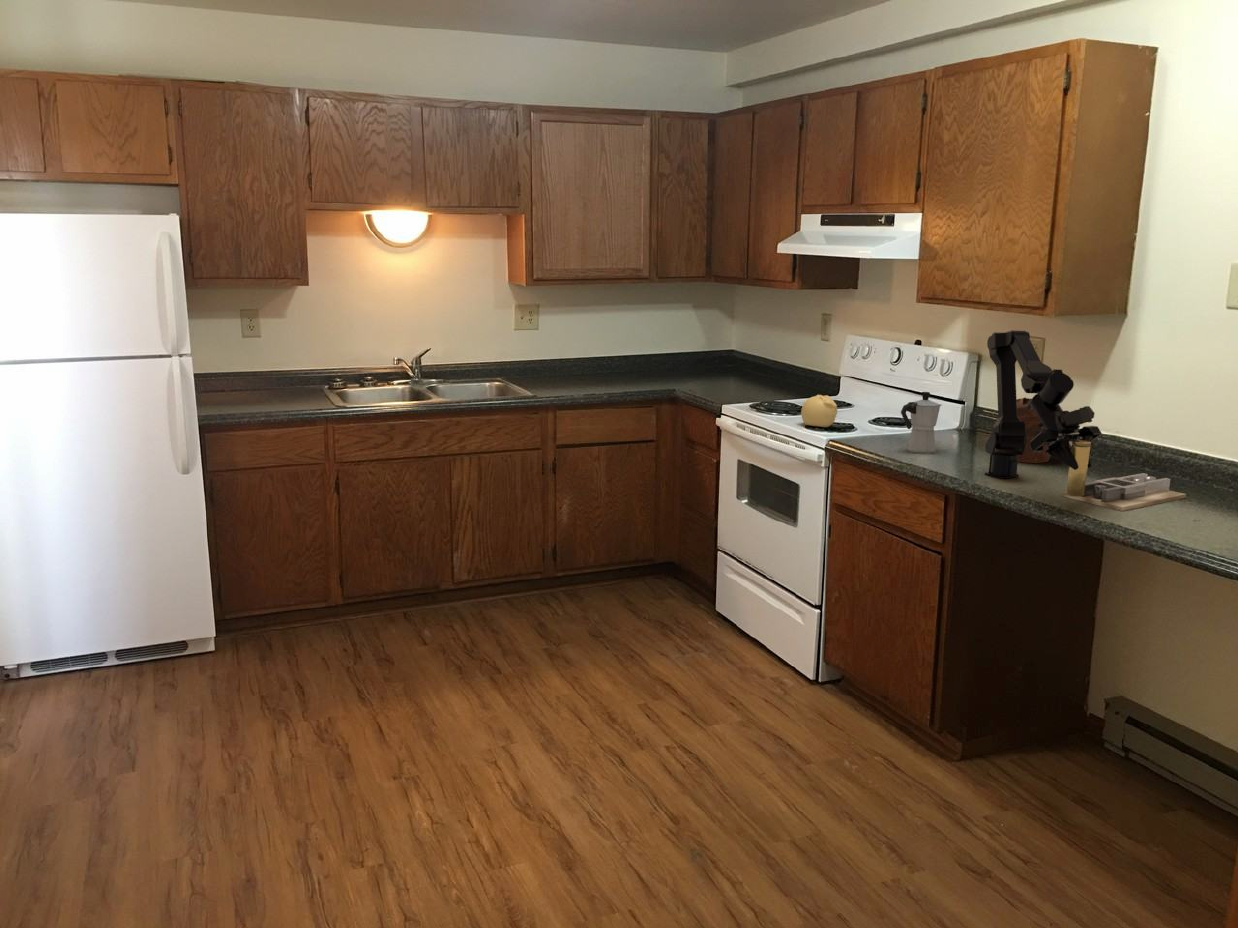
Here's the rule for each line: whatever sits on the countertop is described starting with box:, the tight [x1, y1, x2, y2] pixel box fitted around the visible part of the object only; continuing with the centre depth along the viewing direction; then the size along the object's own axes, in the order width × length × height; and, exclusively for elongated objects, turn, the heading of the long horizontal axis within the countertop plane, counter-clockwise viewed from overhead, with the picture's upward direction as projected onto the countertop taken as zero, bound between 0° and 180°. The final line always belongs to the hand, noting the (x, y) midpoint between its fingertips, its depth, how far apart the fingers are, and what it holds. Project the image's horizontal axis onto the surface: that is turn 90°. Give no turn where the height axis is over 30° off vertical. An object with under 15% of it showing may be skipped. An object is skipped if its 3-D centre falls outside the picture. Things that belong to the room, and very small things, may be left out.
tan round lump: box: [800, 394, 838, 428], centre depth 340 cm, size 11×12×11 cm
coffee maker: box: [900, 391, 942, 455], centre depth 301 cm, size 15×9×18 cm, turn 113°
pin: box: [1065, 440, 1092, 497], centre depth 239 cm, size 4×4×13 cm
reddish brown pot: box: [1016, 396, 1051, 464], centre depth 294 cm, size 18×20×18 cm
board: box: [1061, 489, 1187, 512], centre depth 252 cm, size 16×27×1 cm, turn 122°
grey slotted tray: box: [1081, 472, 1171, 503], centre depth 252 cm, size 8×27×3 cm, turn 121°
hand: (1083, 468), depth 238 cm, fingers closed on pin, 4 cm apart
